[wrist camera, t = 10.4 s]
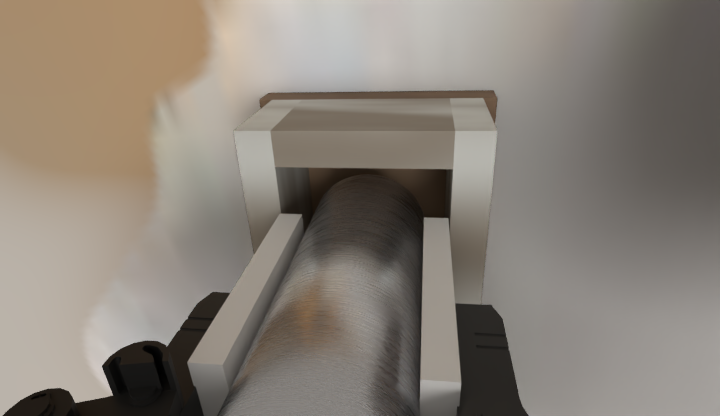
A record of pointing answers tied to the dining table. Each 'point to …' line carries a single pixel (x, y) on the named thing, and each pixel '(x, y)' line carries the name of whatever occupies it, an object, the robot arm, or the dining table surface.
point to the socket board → (376, 160)
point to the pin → (343, 313)
